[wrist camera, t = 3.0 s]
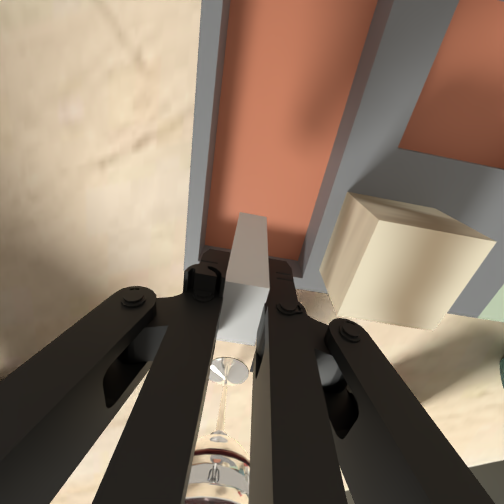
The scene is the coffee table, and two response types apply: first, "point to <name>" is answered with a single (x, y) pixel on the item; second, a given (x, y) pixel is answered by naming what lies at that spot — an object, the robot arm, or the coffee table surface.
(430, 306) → the birch block
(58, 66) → the coffee table surface
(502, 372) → the flower pot
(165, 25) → the coffee table surface
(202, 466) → the wineglass
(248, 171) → the grey compartment tray
